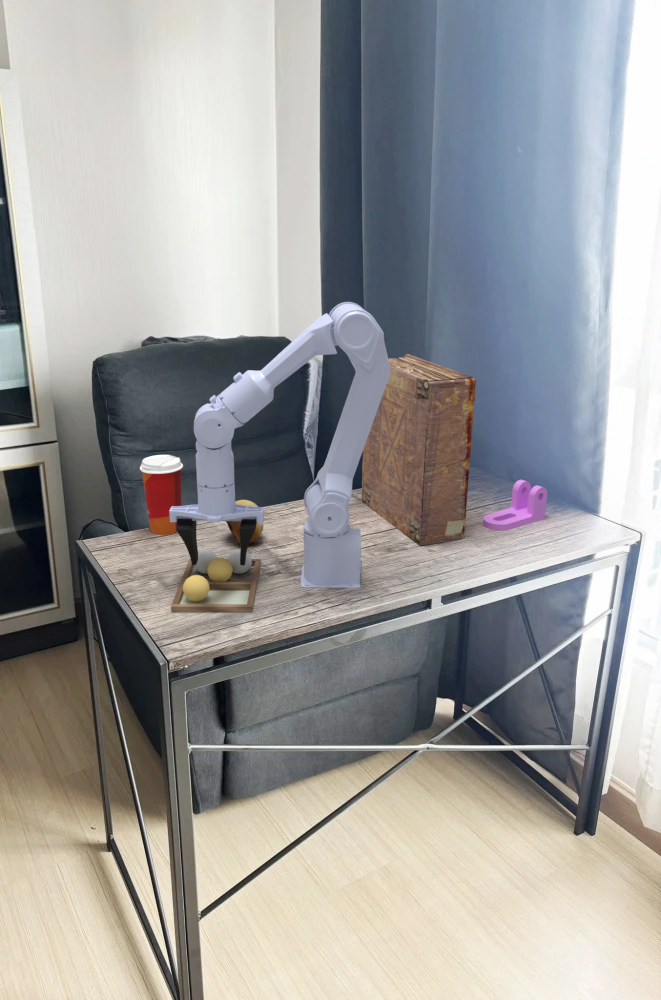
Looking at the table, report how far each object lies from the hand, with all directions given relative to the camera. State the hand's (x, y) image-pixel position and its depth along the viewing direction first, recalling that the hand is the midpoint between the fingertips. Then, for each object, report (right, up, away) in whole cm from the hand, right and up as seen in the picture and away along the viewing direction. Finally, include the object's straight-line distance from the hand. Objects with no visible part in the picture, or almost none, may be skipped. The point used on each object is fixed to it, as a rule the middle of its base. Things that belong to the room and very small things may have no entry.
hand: (219, 562), depth 128 cm
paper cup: (-13, +4, +22) cm, 26 cm away
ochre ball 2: (0, -3, +1) cm, 3 cm away
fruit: (+2, +2, +17) cm, 18 cm away
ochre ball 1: (-3, -5, -5) cm, 8 cm away
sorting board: (0, -4, -1) cm, 4 cm away
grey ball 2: (+3, -2, +4) cm, 5 cm away
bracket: (+53, +6, +28) cm, 60 cm away
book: (+33, +6, +29) cm, 44 cm away
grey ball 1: (-3, -2, +4) cm, 5 cm away
